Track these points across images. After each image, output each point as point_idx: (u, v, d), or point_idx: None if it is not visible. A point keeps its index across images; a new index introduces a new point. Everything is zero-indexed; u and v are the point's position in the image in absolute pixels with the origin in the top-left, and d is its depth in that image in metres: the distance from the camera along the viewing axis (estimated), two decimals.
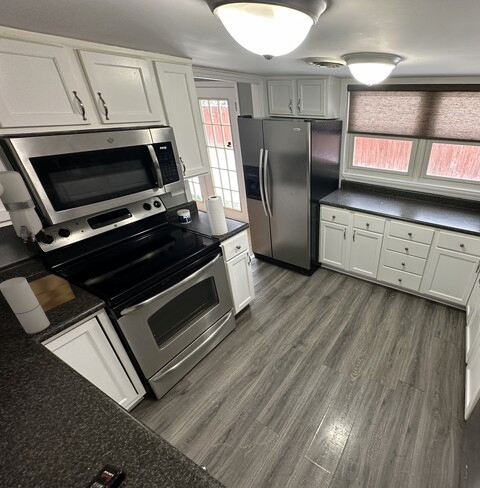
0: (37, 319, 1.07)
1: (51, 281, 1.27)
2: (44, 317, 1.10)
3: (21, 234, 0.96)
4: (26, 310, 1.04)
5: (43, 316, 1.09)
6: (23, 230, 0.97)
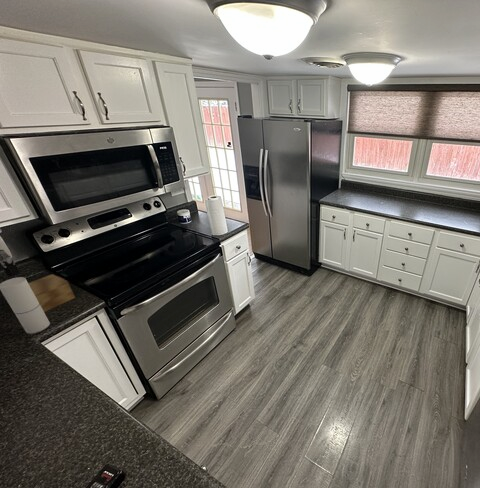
0: (37, 319, 1.07)
1: (51, 281, 1.27)
2: (44, 317, 1.10)
3: (6, 258, 0.92)
4: (26, 310, 1.04)
5: (43, 316, 1.09)
6: (5, 254, 0.93)
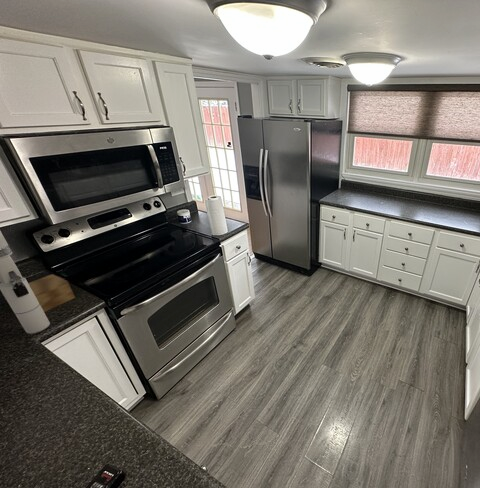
0: (37, 319, 1.07)
1: (51, 281, 1.27)
2: (44, 317, 1.10)
3: (17, 281, 0.96)
4: (26, 310, 1.04)
5: (43, 316, 1.09)
6: (15, 276, 0.97)
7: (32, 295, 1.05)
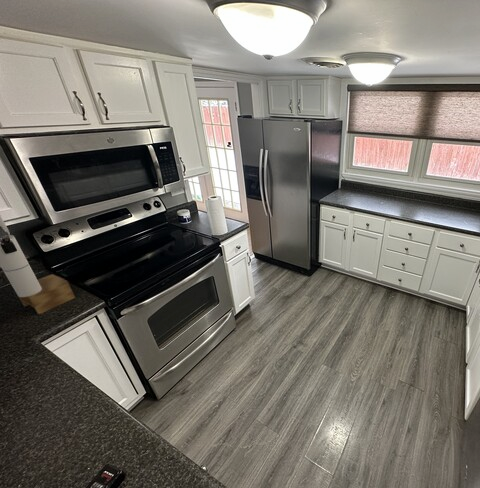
0: (26, 278, 1.07)
1: (51, 281, 1.27)
2: (33, 277, 1.10)
3: (5, 236, 0.97)
4: (15, 268, 1.04)
5: (32, 276, 1.10)
6: (3, 231, 0.97)
7: (21, 253, 1.05)
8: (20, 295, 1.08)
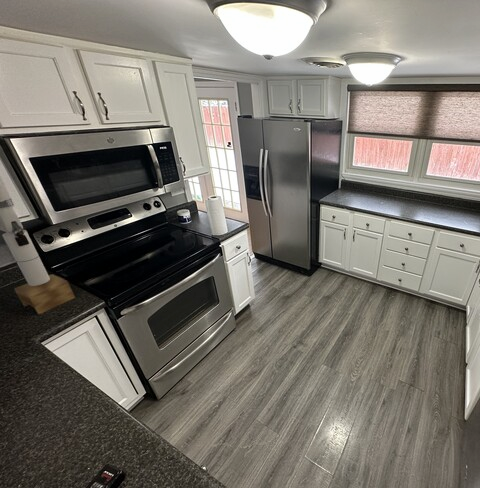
0: (36, 269, 1.19)
1: (51, 281, 1.27)
2: (43, 268, 1.22)
3: (19, 230, 1.09)
4: (27, 259, 1.16)
5: (42, 267, 1.22)
6: (17, 226, 1.09)
7: (32, 246, 1.17)
8: (31, 284, 1.20)
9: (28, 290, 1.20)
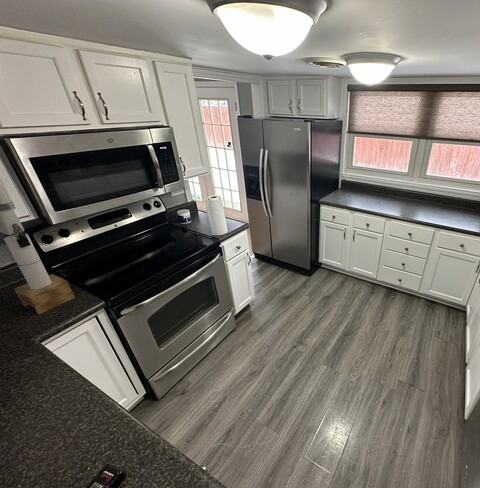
0: (38, 272, 1.20)
1: (51, 281, 1.27)
2: (44, 271, 1.23)
3: (20, 230, 1.09)
4: (28, 263, 1.17)
5: (43, 270, 1.22)
6: (18, 227, 1.09)
7: (34, 250, 1.18)
8: (32, 287, 1.21)
9: (28, 290, 1.20)
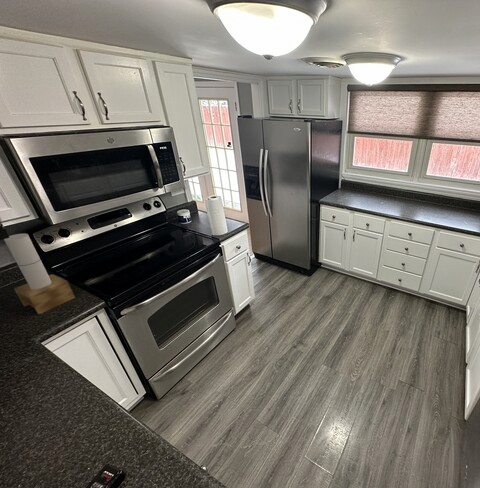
0: (38, 272, 1.20)
1: (51, 281, 1.27)
2: (44, 271, 1.23)
3: None
4: (28, 262, 1.17)
5: (43, 270, 1.22)
6: None
7: (34, 250, 1.18)
8: (32, 287, 1.21)
9: (28, 290, 1.20)
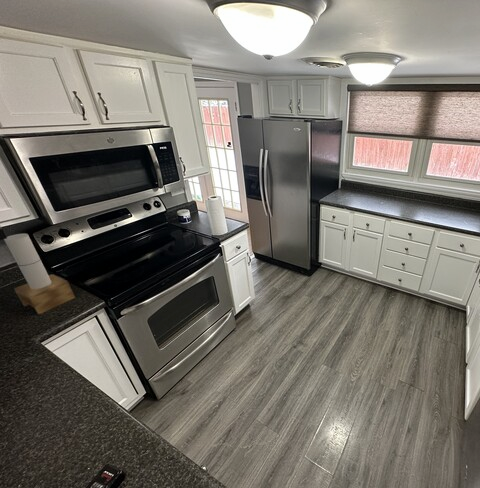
0: (38, 272, 1.20)
1: (51, 281, 1.27)
2: (44, 271, 1.23)
3: None
4: (28, 262, 1.17)
5: (43, 270, 1.22)
6: None
7: (34, 250, 1.18)
8: (32, 287, 1.21)
9: (28, 290, 1.20)
